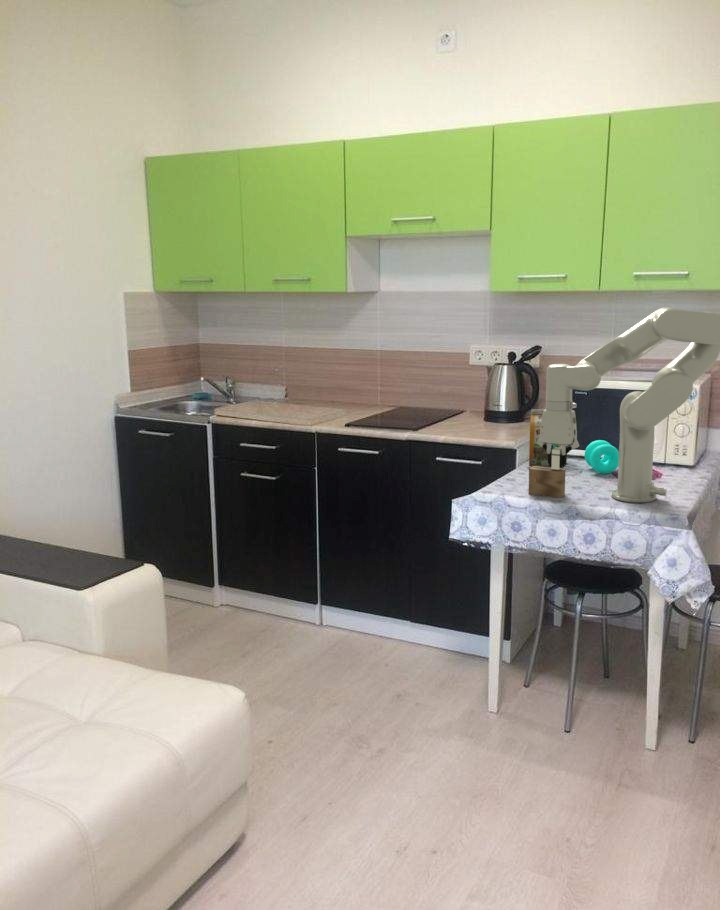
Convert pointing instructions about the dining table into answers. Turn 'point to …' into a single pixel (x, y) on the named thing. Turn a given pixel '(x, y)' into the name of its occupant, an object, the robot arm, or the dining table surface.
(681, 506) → the dining table surface
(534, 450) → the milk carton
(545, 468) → the brown wooden block
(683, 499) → the dining table surface
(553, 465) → the white lidded box
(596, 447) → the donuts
